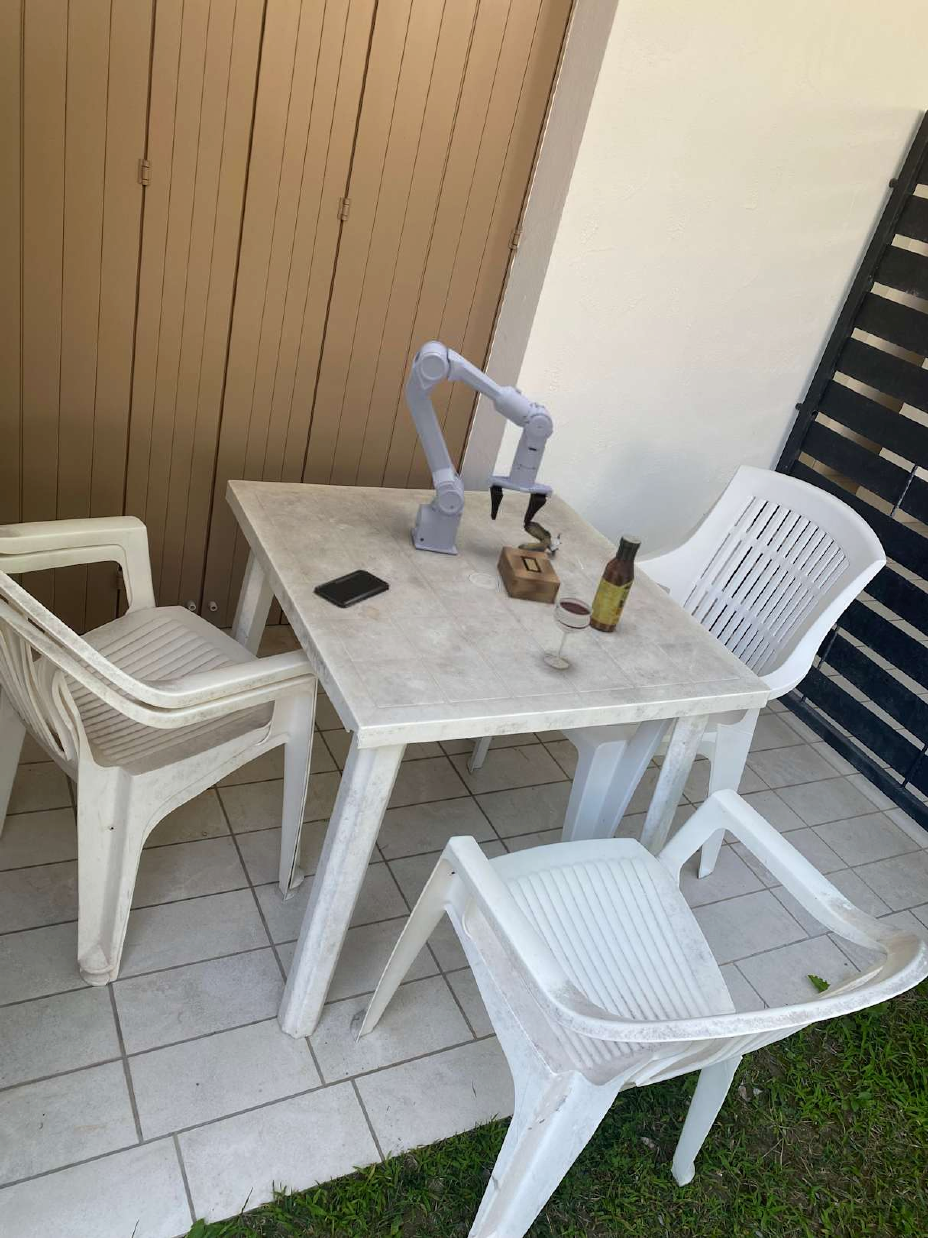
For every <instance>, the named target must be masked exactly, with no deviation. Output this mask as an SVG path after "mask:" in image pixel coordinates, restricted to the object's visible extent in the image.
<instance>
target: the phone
mask: <svg viewBox="0 0 928 1238" xmlns="http://www.w3.org/2000/svg"><path fill="white" fill-rule="evenodd" d="M390 587H391V586H390V583H388V582H387V581H385V580H383V579H382V578H380V577H377V576H376V575H374V574H372V573H371V572H370V571H369V572H368V571H367V570H365V569H358V570H355V571H352V572H350V573H347V574H344V575H342V576H340V577H337V578H335V579H332V580H330V581H326V582H325V583H321V584H319V585H317V586H315V587H314V590H313V592H314V594H315V595H317V596H319V597H321V598H322V599H324V600H326V601H327V602H329V603H331V604H332V603H333V604H332V605H334V606H336V607H338V608H339V607H340V608H339V609H348V608H350V607H353V606H355V605H357V604H359V603H362V602H364V601H366V600H368V598H369V599H371V598H372V597H375V596H378V595H380V594H383V593H384V592H386V590H387V591H389V589H390ZM370 597H371V598H370ZM363 600H364V601H363ZM361 601H362V602H361ZM356 603H357V604H356Z"/></svg>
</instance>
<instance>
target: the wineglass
mask: <svg viewBox="0 0 928 1238" xmlns="http://www.w3.org/2000/svg"><path fill="white" fill-rule="evenodd" d="M557 604H558V605H556V607H555V608H554V611H553V619H554V622H555V623H556V625H557V627H558V628H559V629H560V630H561V631H562V632H563V635H562V639H561V642H560V645H559V648H558V652H557V653H547V654H545V655H544V656H543V660H544V661H545V663H546V664H548V665H550V666H552V667H554V668H557V669H566V668H568V667H569V666H570V662H569V661H568V659H567V658H565V657H564V656H562V655H561V653H562V650H563V649H564V645H565V643H566V641H567V638H568V635H571V634H577V633H579V632H582V631H584V630H585V629H586V628H588V626H589V625H590V623H589V622H590V615H591V614H592V613H593V610H592V608H591V607H592V606H591V605H590V604H588V603H587V602H585V601H583V600H581V599H578V598H575V597H570V596H563V597H560V598H559V599H558V601H557Z"/></svg>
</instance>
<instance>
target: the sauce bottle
mask: <svg viewBox="0 0 928 1238" xmlns="http://www.w3.org/2000/svg"><path fill="white" fill-rule="evenodd" d="M641 544H642V541H641V540H640V539H639V538H638V537H636V536H634V535H630V534H623V535H621V537H620V539H619V546H618V549H617V551H616V552H615V557H613V558H612V559H611V560H610V561H608V562H607V564H606V566H605V568H604V571H603V574H602V576H601V578H600V581H599V584H598V587H597V590H596V592H595V595H594V599H593V601H592V603H591V606H590V607H591V608H592V610H593V613H592V614H591V615H590V622H589V625H590V626H591V627H593V628H595V629H597V630H600V631H603V632H611V631H613V630H615V629H616V627H617V624H618V623H619V622H620V618H621V616H622V613H623V611H624V607H625V605H626V602H627V599H628V597H629V594H630V591H631V588H632V585H633V583H634V580H635V559H636V556H637V553H638V551H639V549H640V548H641Z"/></svg>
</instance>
